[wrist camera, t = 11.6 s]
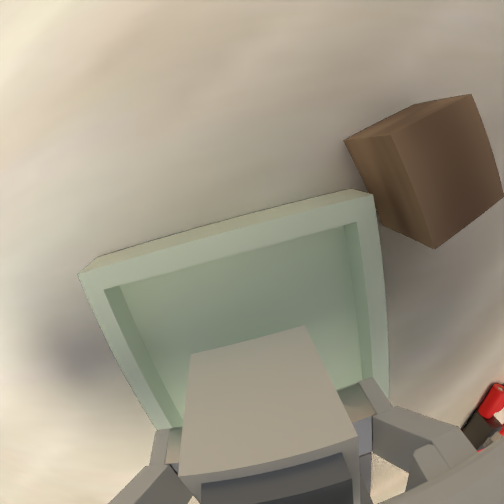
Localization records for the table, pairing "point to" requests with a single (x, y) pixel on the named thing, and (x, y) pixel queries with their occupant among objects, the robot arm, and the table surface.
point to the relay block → (267, 426)
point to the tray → (246, 295)
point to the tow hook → (486, 420)
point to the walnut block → (428, 168)
